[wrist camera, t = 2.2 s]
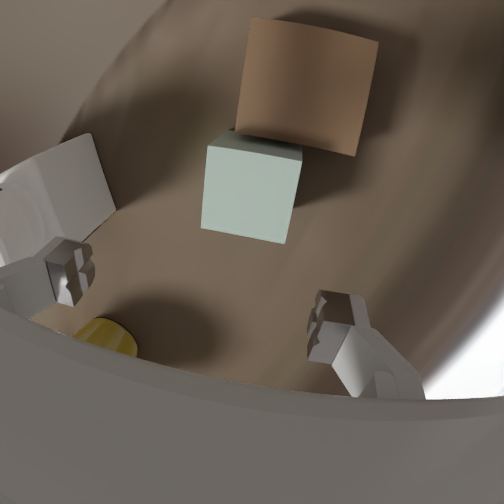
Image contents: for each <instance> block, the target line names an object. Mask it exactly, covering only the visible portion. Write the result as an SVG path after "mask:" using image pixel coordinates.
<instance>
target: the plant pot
mask: <svg viewBox="0 0 504 504" xmlns="http://www.w3.org/2000/svg"><path fill="white" fill-rule="evenodd" d="M73 337H74V338H77V339H80V340H83V341H85V342H88V343H91V344H94V345H97V346H100V347H103V348H106V349H109V350H113V351H116V352H119V353H122V354H126V355H129V356H132V357H136V356H137V351H138V348H137V344H136V342H135V340H134V338H133V337H132V336H131V334H130V333H129V332H128V331H127V330H126V329H125V328H123V327H122V326H121V325H119V324H117V323H115V322H114V321H111V320H109V319H105V318H95V319H93V320H92V321H90V322H89V323H88V324H87V325H86V326H85V327H83V328H82V329H81V330H80V331H79V332H78V333H76V334H75V335H74V336H73Z"/></svg>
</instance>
